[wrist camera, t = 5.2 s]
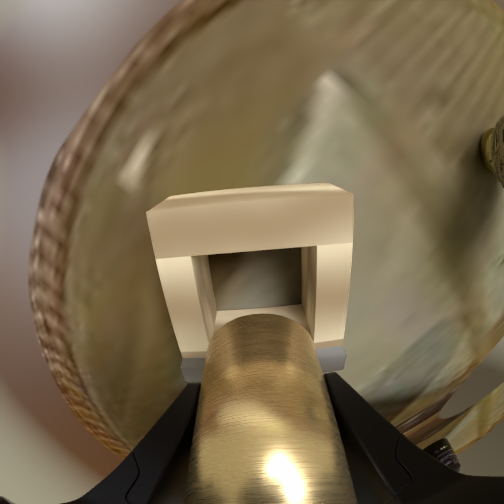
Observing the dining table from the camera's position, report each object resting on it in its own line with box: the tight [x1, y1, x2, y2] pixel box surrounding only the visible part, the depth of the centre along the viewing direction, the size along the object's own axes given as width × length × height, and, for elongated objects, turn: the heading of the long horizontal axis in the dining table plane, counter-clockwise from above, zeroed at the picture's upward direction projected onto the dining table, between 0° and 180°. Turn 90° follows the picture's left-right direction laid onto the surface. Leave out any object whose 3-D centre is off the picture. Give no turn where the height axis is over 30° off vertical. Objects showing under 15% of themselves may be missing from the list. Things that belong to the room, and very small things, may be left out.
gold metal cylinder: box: [184, 313, 357, 504], centre depth 6 cm, size 4×4×7 cm
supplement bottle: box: [423, 438, 462, 473], centre depth 26 cm, size 7×7×12 cm
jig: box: [146, 183, 354, 382], centre depth 14 cm, size 10×9×5 cm
